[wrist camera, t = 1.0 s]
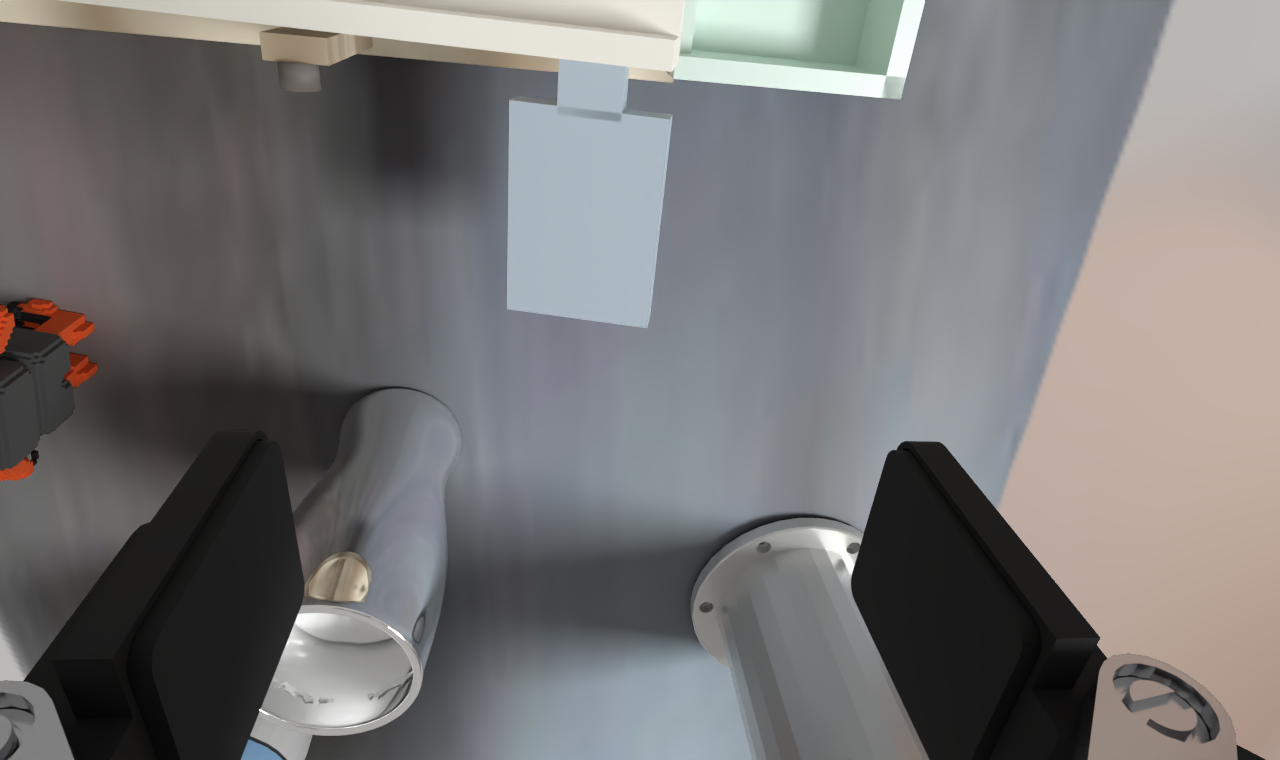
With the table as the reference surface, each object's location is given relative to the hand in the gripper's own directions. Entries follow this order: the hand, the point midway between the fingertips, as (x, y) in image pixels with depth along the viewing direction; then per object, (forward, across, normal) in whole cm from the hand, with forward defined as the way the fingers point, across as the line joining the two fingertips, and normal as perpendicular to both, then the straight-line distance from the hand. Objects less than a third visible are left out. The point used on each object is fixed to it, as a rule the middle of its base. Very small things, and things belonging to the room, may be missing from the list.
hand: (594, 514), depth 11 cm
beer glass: (+25, +8, +15) cm, 30 cm away
